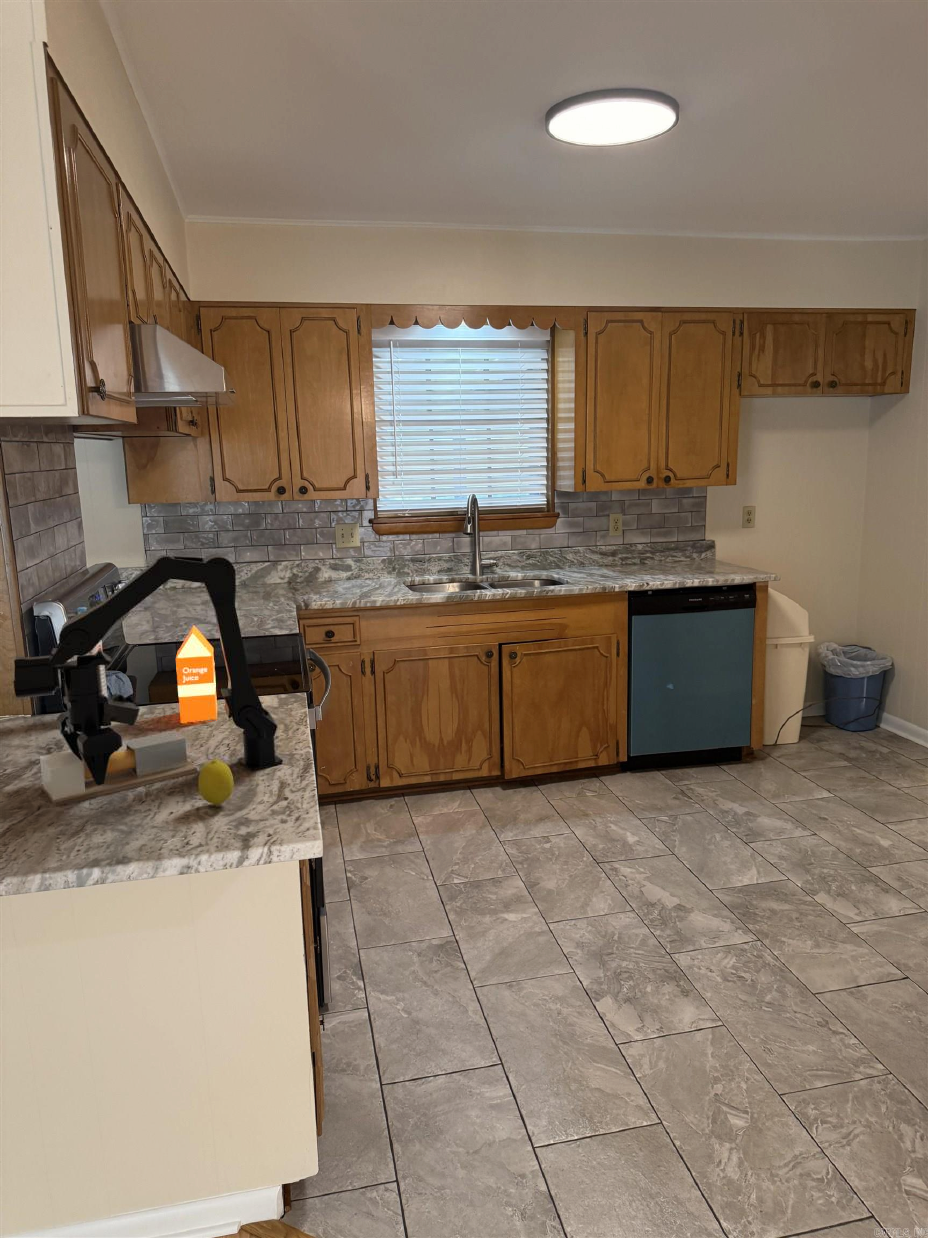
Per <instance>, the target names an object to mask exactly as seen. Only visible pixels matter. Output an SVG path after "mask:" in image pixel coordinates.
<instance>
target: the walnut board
mask: <svg viewBox="0 0 928 1238" xmlns="http://www.w3.org/2000/svg"><path fill="white" fill-rule="evenodd" d="M195 773H198V768H197V767H196V766H195V765H194V764H192V763H191V762H190V761H189V760H187V766H185V767H180V768H176V769H172V770H168V771H164V772H159V773H155V774H151V775H147V776H142V777H138V778H137V777H136V776H135V775H134V774H133V773H132V772H131V771H130V770H126V771H122V772H117V773H113V774H108V775H106V776H105V781H104V784H102V785H97V784H96V783H95V781H94V779H93V778H91V779H87V780H86V779H85V778H84V782H85V792H86V793H81V794H77V795H73V796H69V797H65V798H61V799H56V800H53V799H52V797H51V796H50V795H49V793H48V792H47V791H46V789H45V788H44V787H43V783H42V784H41V789H42V790H43V791H44V793H45V795H46V796H47V797H48V798H49V800H50V802H52V803H53V805H54V806H55V807H59V806H63V805H67V804H73V803H76V802H79V801H84V800H88V799H93V798H95V797H100V796H104V795H110V794H113V793H117V792H122V791H125V790H128V789H132V788H133V789H134V788H137V787H138V788H139V787H142V786H146V785H150V784H153V783H159V782H163V781H166V780H170V779H175V778H178V777H182V776H187V775H190V774H191V775H192V774H195Z"/></svg>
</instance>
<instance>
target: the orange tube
mask: <svg viewBox="0 0 928 1238" xmlns="http://www.w3.org/2000/svg"><path fill="white" fill-rule="evenodd" d="M82 763H83V773H84V778H85V779H86V780H87V779H91V778H93V777H92V775H91V773H90V772H89V770H88V768H87V766H86V764H85V762H84V761H83V759H82ZM135 768H136V767H135V756H134V750H133V749H128V750H126V749H125V750H117V751H115V752H114V753H113V754H112V755H111V756H110V758H109V762H108V766H107V771H106V775H108V774H113V773H117V772H122V771H126V770H130V769H135Z"/></svg>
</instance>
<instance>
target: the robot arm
mask: <svg viewBox="0 0 928 1238" xmlns="http://www.w3.org/2000/svg"><path fill="white" fill-rule="evenodd" d="M236 574H237V573H236V567H235V566H234V564H233V563H232V562H231V561H230V560H229V559H228V558H227V557H225V556H224V555H222V554H218V553H211V554H208V555H205V556H204V557H197V556H175V555H170V554H165V553H164V554H161V555H159V556H157V557H156V558H155V560H154V561H153V562H152V563H151V564H150V565H148V566H147V567H146V568H145V569H143V570H142V571H141V572H139V573H138V574H137V575H135V576H134V577H133V578H132V579H130V580H129V581H127V583H125V584H124V585H122V586H121V587H120V588H119V589H117V591H115V592H114V593H113V594H111V595H110V596H109V597H107V598H106V599H105V600H104V601H102V602H100V603H99V604H97V605H94V606H93V607H90V608H87V610H86V611H84V612H82V613H80V614H78V613H77V615H75V616H73V617H71V618H69V619H68V620H66V621H65V622H64V624H63V625H62V627H61V630H60V632H59V635H58V643H57V645H56V647H53V648H52V650H51V653H50V655H40V656H17V657H15V659H13V663H14V664H13V665H14V672H13V673H14V679H13V688H14V689H13V690H14V694H15V698H16V699H23V698H35V697H42V696H43V697H44V696H52V695H53V696H54V695H55V692H57V689H61V688H62V678H61V670H63V677H64V678H63V679H64V687H65V688H64V689H65V696H63V703H64V704H65V705H66V707H67V711H65V712H64V711H63V712H60V714H59V715H58V716H57V717H56V726H57V729H58V731H59V734H60V735H61V736H62V739H64V742H66V744H67V746H68V748H69V749H70V750H71V751H72V752H73V753H74V754H75V755H76V756H77V757H78V758H79V759H80V760H81V762H82V759H83V761H84V762H85V764H86V766H87V768H88V770H89V772H90V773H91V775H92V777H93V779H94V781H95V783H96V784H97V785H102V784H104V781H105V776H106V771H107V766H108V762H109V758H110V756H111V755H112V754H113V753H114V752H118V751H119V750H120V748H122V747H123V738H122V735H121V734H120V733H118V732H117V730H115V729H113V728H112V727H110V726H112V722H113V723H119V724H126V725H128V726H131V727H134V726H136V724H137V721H138V717H139V714H140V713H139V712H140V710H141V708H140V707H139V706H137V705H136V704H135V703H131V702H130V701H126V700H127V699H126V696H125V695H123V694H120V693H119V694H118V693H113V695H111V697H110V698H109V697H108V698H107V697H106V696H105V695H103V692H102V682H101V672H100V665H105V666H107V665H110V664H111V663H112V657H111V656H109V655H108V654H106V653H105V652H103V651H104V650H103V649H102V650H103V651H102V650H101V649H99V650H98V651H97V652H96V653H95V654H93V655H86V654H87V653H89V652H91V651H92V650H93V648H94V647H95V646H96V645H97V644H98V643H99V642H100V641H101V640H103V638H104V637H105V636H106V635H107V633H109V631H110V630H111V629H112V627H113V626H114V625H115V624H116V623H117V621H119V620H120V619H122V618H123V617H124V616H125V615H126V614H128V613H130V611H131V610H132V609H134V608H135V607H137V606H138V605H139V604H141V603H142V602H143V601H145V599H147V598H148V597H149V596H150V595H152V594H153V593H154V592H155V591H156V590H158V589H159V588H161V587H162V586H163V585H164V584H165V583H167V582H168V581H170V580H177V581H184V582H185V581H186V582H189V583H190V582H191V583H197V584H198V583H200V584H203V587H204V589H205V590H206V594H207V596H208V598H209V600H210V602H211V606H212V607H213V612H214V616H215V621H216V626H217V629H218V636H219V639H220V644H221V645H220V646H221V649H222V654H223V658H224V659H223V660H224V662H225V668H226V672H227V673H226V674H227V678H228V680H227V683H228V685H227V688H221V689H220V691H221V694H222V696H223V698H224V711H225V713H226V716H227V717H228V719H232V722H233V724H234V725H235V726H236V727H237V728H239V729H241V730H243V731H242V738H243V739H242V740H243V754H244V756H243V757H240V758H239V757H238V759H237V762H238V763H239V764H241V765H243V766H244V767H245V768H247V769H249V771H256V770H260V769H263V768H268V767H272V766H275V765H279V764H283V763H282V762H284V760H283V759H282V758H280V757H278V756H277V755H276V740H275V735H276V732H277V729H278V725H277V723H276V721H275V720H274V718H273V716H272V714H271V713H270V712H269V710H267V709H266V708H264V707H263V705H262V703H261V700H260V697H259V694H258V692H257V690H256V688H255V685H254V684H253V683H254V682H253V681H252V678H251V675H250V671H249V666H248V661H247V656H246V651H245V646H244V642H243V641H244V640H243V637H242V632H241V628H240V627H241V626H240V623H239V622H240V621H239V617H238V613H237V607H236V594H237V578H236V576H237V575H236ZM74 656H77V660H74V661H70V659H71V658H72V657H74Z"/></svg>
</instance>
